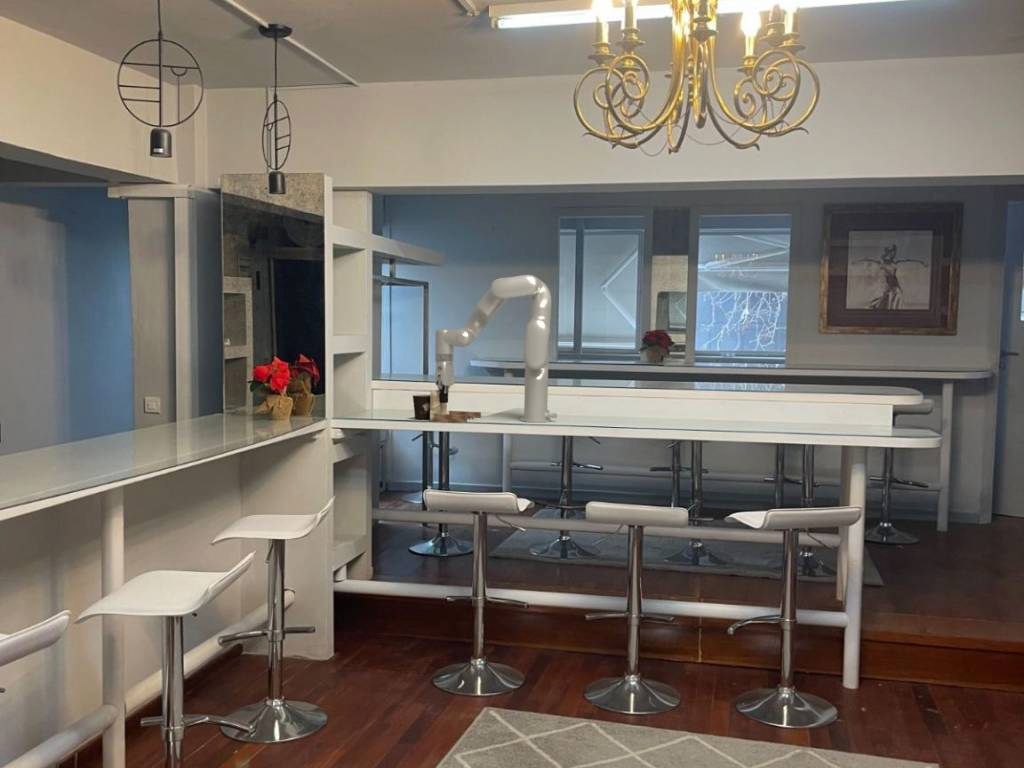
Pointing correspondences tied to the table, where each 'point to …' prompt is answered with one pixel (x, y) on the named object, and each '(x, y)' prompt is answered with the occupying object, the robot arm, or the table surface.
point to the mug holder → (456, 416)
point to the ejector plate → (436, 404)
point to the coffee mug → (421, 407)
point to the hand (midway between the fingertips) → (443, 402)
